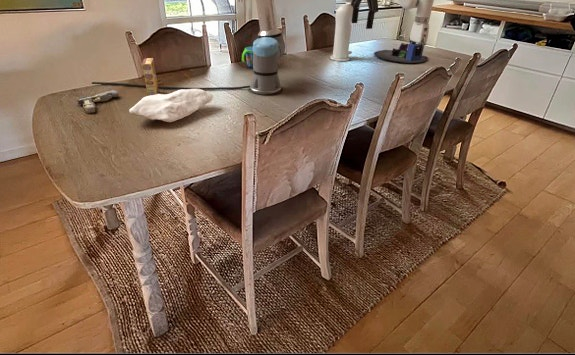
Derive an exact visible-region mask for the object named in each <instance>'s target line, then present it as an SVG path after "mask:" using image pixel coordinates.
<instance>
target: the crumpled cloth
mask: <svg viewBox="0 0 575 355" xmlns="http://www.w3.org/2000/svg"><path fill="white" fill-rule="evenodd" d="M213 97H214V96H213V94H212V93H210V92H208V91H207V90H202V89H176V90H175V91H173V92H171V93H167V94H163V93H158V94H156V95H150V96H148V95H146V96H144V97H142V98H141V99H140V100H139V101H138V102H137V103H136V104H134V105H133V106H132V107H131V108H129V114H130V115H135V116H140V117H145V118H146V119H149V120H152V121H155V120H158V121H163V122H166V123H174V122H176V121H178V120H181V119H183V118H185V117H188V116H190V115H192V114H193V113H195V112H196V111H197V110H199V109H200V108H202V107H204V106H206V105H207V104H210V102H211V101H212V100H213V99H214V98H213Z"/></svg>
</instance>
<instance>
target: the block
mask: <svg viewBox="0 0 575 355" xmlns="http://www.w3.org/2000/svg"><path fill="white" fill-rule="evenodd" d="M417 44H418V43H417V42H416V44H410V43H408V48H407V55H406V59H407V60H409V61H421V57H422V56H423V54H424V48H425V46H424V47H423V48H422V49H421V54H420V56H415V52H416V48H417ZM420 45H421V44H420Z"/></svg>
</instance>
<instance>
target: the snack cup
mask: <svg viewBox="0 0 575 355" xmlns="http://www.w3.org/2000/svg"><path fill="white" fill-rule="evenodd" d="M245 58H246V59H245ZM241 62H242V63H245V62H246V65H247V67H248V68H252V69H253V45H252V46H246V47H245V48H244V50H243V52H242V53H241Z"/></svg>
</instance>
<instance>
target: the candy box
mask: <svg viewBox="0 0 575 355" xmlns="http://www.w3.org/2000/svg"><path fill="white" fill-rule="evenodd" d="M141 66H142V73H143V78H144V82H145V85H146V87H145V88H146V92H147V96H150V95H156V94H159V91H160V90H159V88H158V86H159V84H158V79H157V73H156V66H155V62H154V58H153V57H151V58H150V57H149V58H146V57H145V58H143V60H142V63H141Z"/></svg>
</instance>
